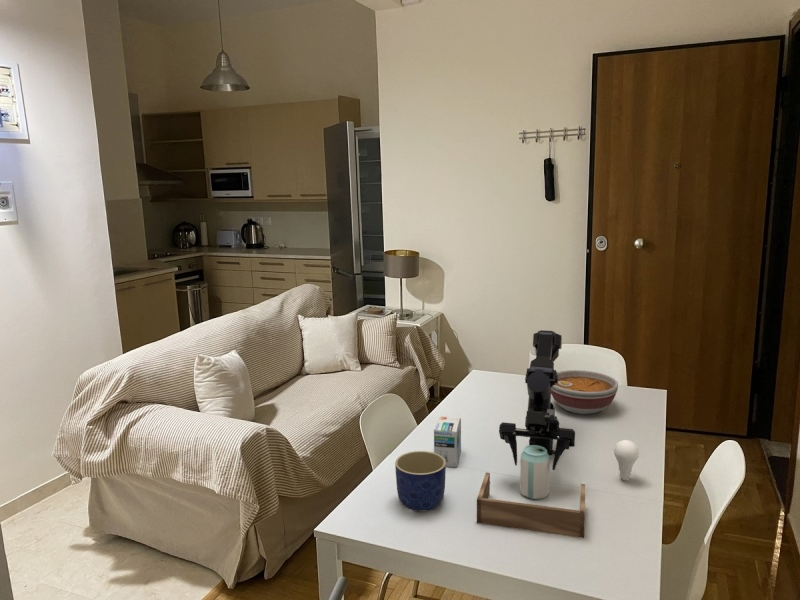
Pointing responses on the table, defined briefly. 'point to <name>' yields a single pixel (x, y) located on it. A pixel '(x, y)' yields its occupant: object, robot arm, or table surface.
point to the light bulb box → (448, 439)
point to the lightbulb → (626, 457)
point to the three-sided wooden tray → (530, 514)
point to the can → (534, 472)
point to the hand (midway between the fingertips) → (534, 467)
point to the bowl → (584, 391)
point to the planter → (420, 480)
